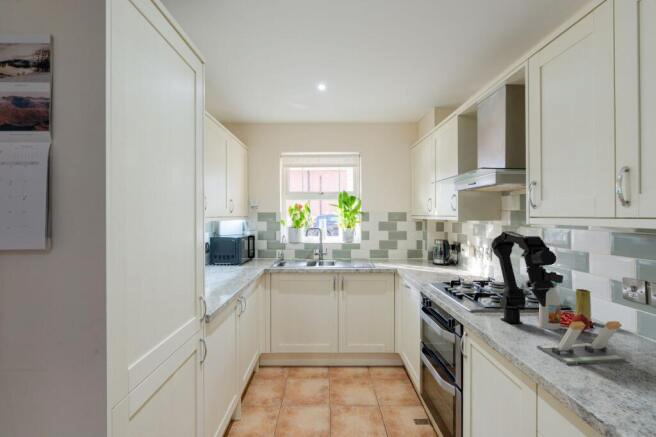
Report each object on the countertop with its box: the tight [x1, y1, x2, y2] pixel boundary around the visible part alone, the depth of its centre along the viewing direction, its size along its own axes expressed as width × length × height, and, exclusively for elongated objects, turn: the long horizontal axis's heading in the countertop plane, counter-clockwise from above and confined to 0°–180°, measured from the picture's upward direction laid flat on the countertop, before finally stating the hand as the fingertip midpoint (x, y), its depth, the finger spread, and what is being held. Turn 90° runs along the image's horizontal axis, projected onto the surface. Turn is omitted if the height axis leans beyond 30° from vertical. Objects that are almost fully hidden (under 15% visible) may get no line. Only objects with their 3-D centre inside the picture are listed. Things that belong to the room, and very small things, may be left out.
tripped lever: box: [557, 321, 586, 352], centre depth 109 cm, size 2×4×14 cm, turn 97°
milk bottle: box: [538, 281, 562, 331], centre depth 138 cm, size 8×8×20 cm
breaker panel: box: [536, 342, 627, 365], centre depth 113 cm, size 13×22×2 cm, turn 96°
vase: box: [573, 288, 592, 322], centre depth 146 cm, size 6×6×14 cm
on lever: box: [590, 320, 622, 350], centre depth 110 cm, size 2×4×14 cm
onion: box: [571, 313, 590, 332], centre depth 134 cm, size 6×6×8 cm
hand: (543, 306), depth 124 cm, fingers closed
